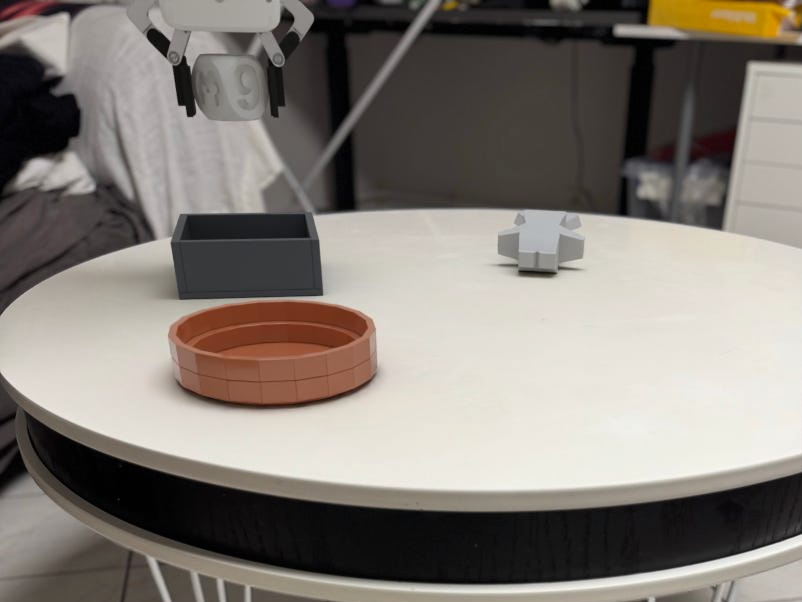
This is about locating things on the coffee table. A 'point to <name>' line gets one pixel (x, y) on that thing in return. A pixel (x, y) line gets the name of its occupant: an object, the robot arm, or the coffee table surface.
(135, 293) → the coffee table surface
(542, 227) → the grey angular piece
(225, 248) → the bin
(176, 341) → the bowl
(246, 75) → the die
